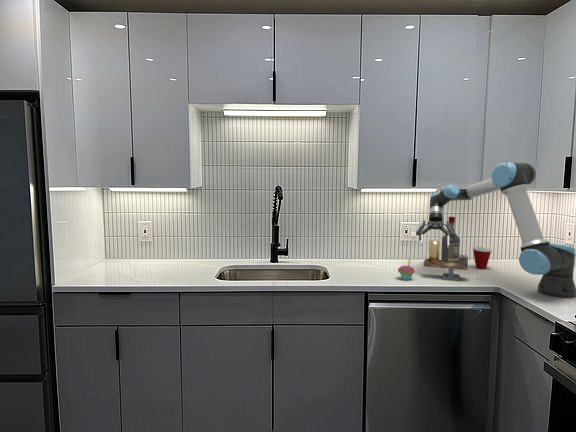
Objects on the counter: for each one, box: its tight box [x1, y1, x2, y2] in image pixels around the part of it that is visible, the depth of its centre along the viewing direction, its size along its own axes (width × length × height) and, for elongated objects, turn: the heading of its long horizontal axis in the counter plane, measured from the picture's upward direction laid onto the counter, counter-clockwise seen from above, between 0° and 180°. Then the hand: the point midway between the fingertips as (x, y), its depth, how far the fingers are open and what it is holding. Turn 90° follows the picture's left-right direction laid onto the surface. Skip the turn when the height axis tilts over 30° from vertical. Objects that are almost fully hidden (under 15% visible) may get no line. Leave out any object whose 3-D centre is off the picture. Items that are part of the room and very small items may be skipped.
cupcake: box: [397, 258, 416, 281], centre depth 204 cm, size 9×8×12 cm
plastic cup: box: [472, 246, 493, 270], centre depth 229 cm, size 11×11×12 cm
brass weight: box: [427, 240, 441, 262], centre depth 209 cm, size 6×6×12 cm
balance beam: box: [422, 254, 469, 271], centre depth 207 cm, size 22×8×6 cm, turn 67°
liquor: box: [440, 216, 461, 263], centre depth 238 cm, size 9×9×30 cm
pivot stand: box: [442, 262, 460, 282], centre depth 206 cm, size 8×11×8 cm
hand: (434, 245), depth 209 cm, fingers open, 13 cm apart
